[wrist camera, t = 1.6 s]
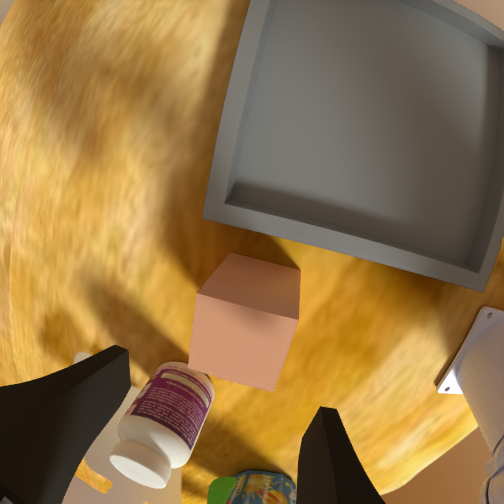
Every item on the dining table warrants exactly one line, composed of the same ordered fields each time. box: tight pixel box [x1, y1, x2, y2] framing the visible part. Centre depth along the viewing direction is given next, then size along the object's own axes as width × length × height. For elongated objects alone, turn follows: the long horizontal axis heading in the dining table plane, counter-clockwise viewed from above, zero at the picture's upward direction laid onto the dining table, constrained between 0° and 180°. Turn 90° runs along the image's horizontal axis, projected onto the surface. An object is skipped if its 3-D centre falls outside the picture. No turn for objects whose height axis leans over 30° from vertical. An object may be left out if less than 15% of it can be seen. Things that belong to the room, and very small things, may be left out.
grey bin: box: [202, 0, 504, 292], centre depth 12 cm, size 17×17×2 cm
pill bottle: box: [110, 361, 215, 488], centre depth 17 cm, size 5×5×10 cm
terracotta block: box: [188, 252, 301, 392], centre depth 16 cm, size 4×4×6 cm
